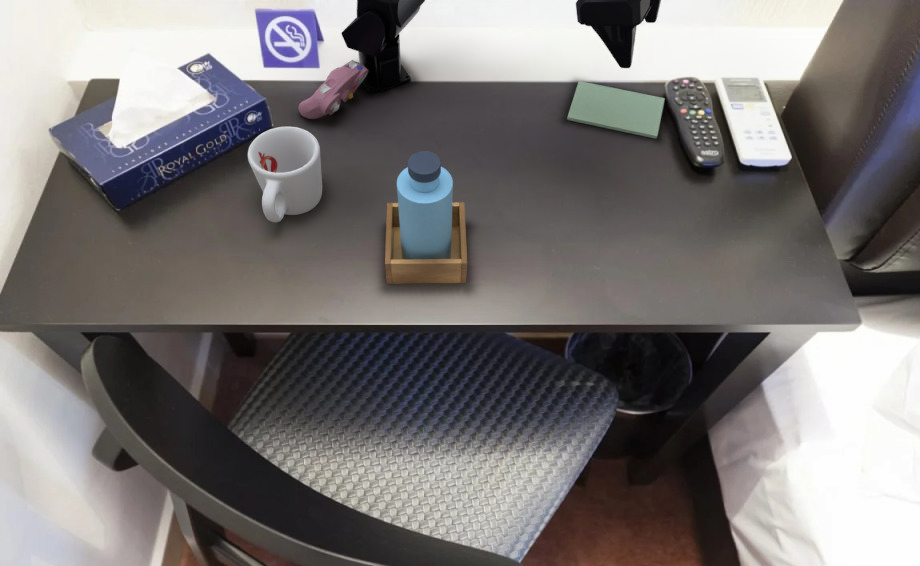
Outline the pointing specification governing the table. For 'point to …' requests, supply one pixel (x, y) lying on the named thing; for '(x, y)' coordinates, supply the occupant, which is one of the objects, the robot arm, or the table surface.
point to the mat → (616, 109)
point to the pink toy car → (334, 90)
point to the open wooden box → (426, 268)
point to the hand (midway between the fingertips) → (638, 44)
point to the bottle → (425, 208)
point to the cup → (287, 171)
